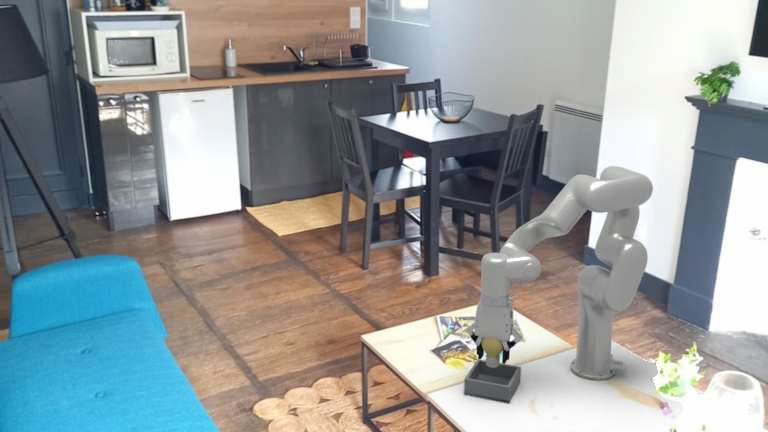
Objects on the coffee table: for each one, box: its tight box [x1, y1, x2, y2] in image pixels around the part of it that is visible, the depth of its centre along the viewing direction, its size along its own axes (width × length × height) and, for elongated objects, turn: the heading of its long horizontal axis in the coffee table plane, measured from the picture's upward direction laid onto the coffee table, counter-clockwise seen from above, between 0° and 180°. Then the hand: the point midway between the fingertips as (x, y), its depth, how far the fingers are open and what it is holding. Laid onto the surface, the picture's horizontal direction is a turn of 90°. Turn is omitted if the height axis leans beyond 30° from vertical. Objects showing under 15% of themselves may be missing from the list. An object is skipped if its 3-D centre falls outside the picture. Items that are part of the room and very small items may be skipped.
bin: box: [463, 358, 522, 404], centre depth 201 cm, size 13×13×5 cm
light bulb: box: [481, 338, 504, 368], centre depth 199 cm, size 6×6×10 cm
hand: (492, 358), depth 199 cm, fingers closed on light bulb, 6 cm apart
